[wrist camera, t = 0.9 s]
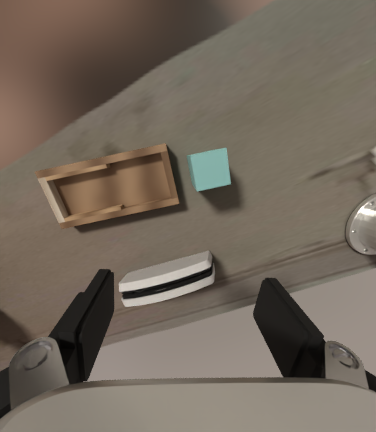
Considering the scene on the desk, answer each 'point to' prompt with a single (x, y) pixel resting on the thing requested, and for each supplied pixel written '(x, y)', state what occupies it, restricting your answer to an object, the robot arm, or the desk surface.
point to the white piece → (167, 280)
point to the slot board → (110, 186)
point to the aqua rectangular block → (209, 169)
